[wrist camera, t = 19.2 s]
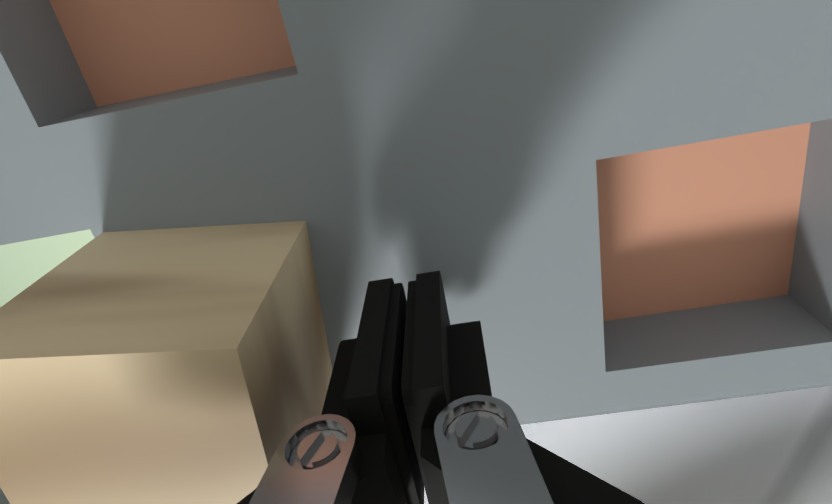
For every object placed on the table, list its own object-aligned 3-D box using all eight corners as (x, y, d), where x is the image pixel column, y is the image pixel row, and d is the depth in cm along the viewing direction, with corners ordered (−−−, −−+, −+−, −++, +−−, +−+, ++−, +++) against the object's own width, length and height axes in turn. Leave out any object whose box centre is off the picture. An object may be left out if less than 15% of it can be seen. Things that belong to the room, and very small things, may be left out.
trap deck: (952, 307, 16) (1127, 414, 12) (79, 427, 19) (-16, 545, 15) (1236, -654, 8) (2002, -1265, 4) (-312, -192, 11) (-723, -294, 7)
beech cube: (335, 386, 15) (293, 558, 10) (161, 392, 15) (45, 564, 10) (306, 220, 13) (236, 348, 8) (102, 232, 13) (-75, 361, 8)
